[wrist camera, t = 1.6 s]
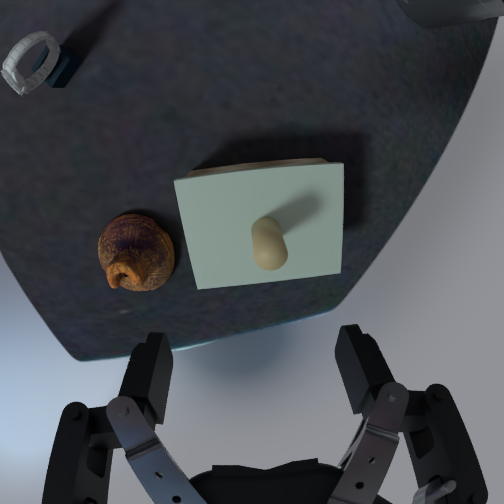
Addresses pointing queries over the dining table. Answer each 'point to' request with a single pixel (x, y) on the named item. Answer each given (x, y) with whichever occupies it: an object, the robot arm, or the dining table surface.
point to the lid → (263, 223)
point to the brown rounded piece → (136, 253)
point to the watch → (40, 64)
